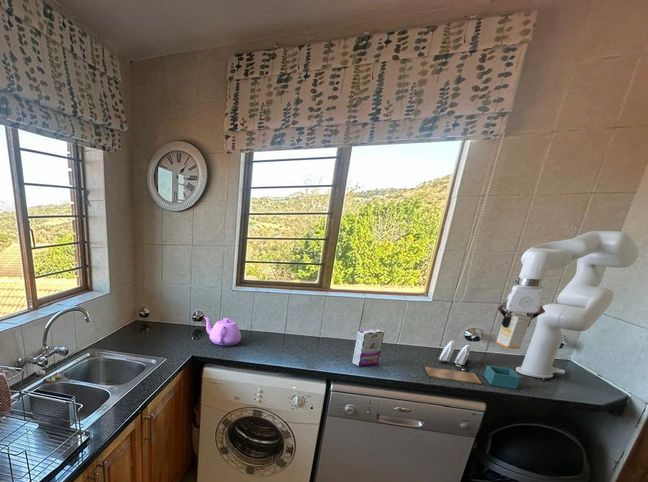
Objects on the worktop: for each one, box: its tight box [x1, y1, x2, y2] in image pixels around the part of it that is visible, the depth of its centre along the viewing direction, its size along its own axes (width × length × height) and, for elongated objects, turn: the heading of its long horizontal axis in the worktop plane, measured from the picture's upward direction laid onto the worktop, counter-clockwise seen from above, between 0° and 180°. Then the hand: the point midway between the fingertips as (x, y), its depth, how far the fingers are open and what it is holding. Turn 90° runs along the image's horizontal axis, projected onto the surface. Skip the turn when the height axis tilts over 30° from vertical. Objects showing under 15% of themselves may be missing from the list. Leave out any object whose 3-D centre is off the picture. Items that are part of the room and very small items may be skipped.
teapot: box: [203, 316, 242, 347], centre depth 222 cm, size 22×22×14 cm
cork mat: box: [424, 366, 483, 385], centre depth 179 cm, size 19×13×1 cm
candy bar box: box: [351, 328, 385, 367], centre depth 190 cm, size 11×5×16 cm, turn 105°
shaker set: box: [438, 340, 471, 366], centre depth 193 cm, size 12×4×11 cm, turn 74°
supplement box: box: [495, 312, 531, 350], centre depth 165 cm, size 8×5×13 cm, turn 168°
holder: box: [483, 365, 521, 389], centre depth 171 cm, size 9×12×5 cm
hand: (514, 327), depth 164 cm, fingers closed on supplement box, 5 cm apart
